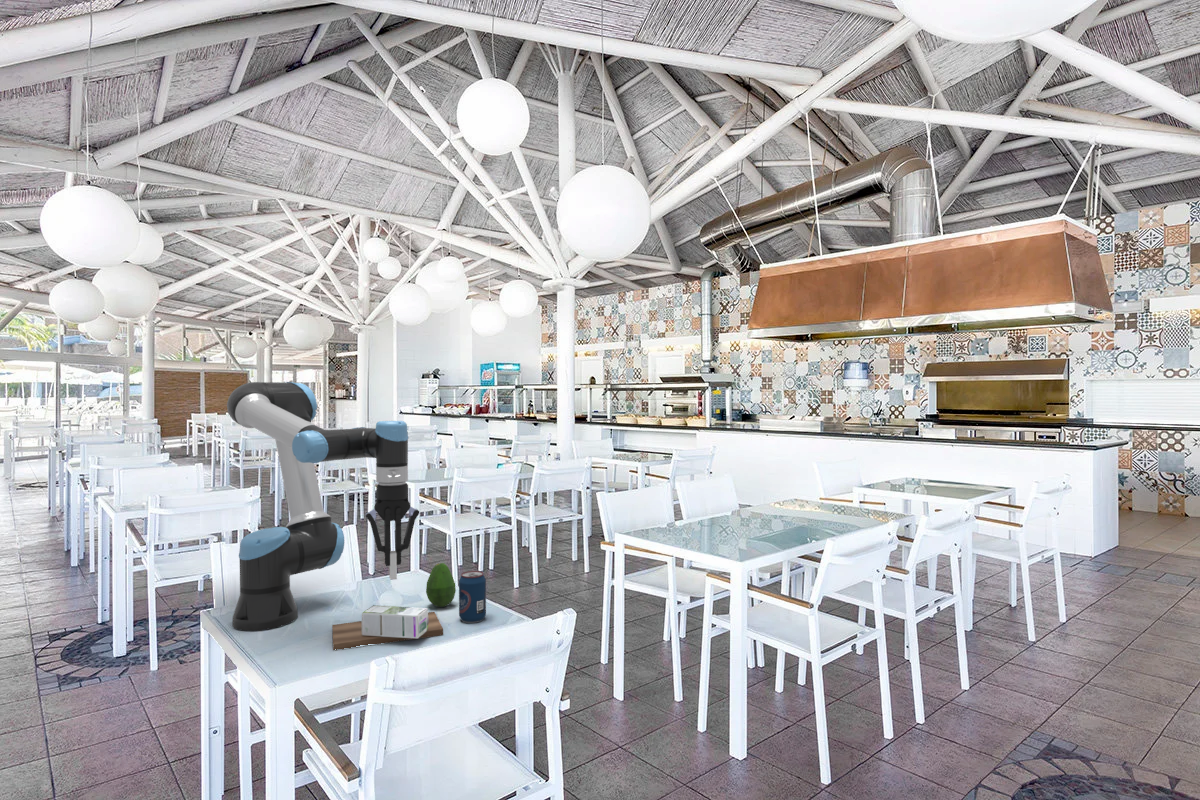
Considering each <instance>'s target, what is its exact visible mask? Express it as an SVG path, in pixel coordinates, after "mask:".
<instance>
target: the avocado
mask: <svg viewBox="0 0 1200 800" xmlns="http://www.w3.org/2000/svg"><path fill="white" fill-rule="evenodd" d="M454 579H455V578H454V577H453V574H452V573H451V570H450V569H449V567H448V566H447V564H445V563H444V562H439V563H437V564H435V565H434V566H433V568H432V569H431V572H430V573H429V576H428V579H427V581H426V588H425V589H426V590H425V593H426V596H427V599H428V601H429V602H430V603H431V604H432V605H433V606H435V607H440V608H441V607H442V608H444V607H446V606H448V605H450V604H451V603H452V602H453V600H454V599H455V595H456V590H457V589H456V582H455V580H454Z"/></svg>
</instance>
